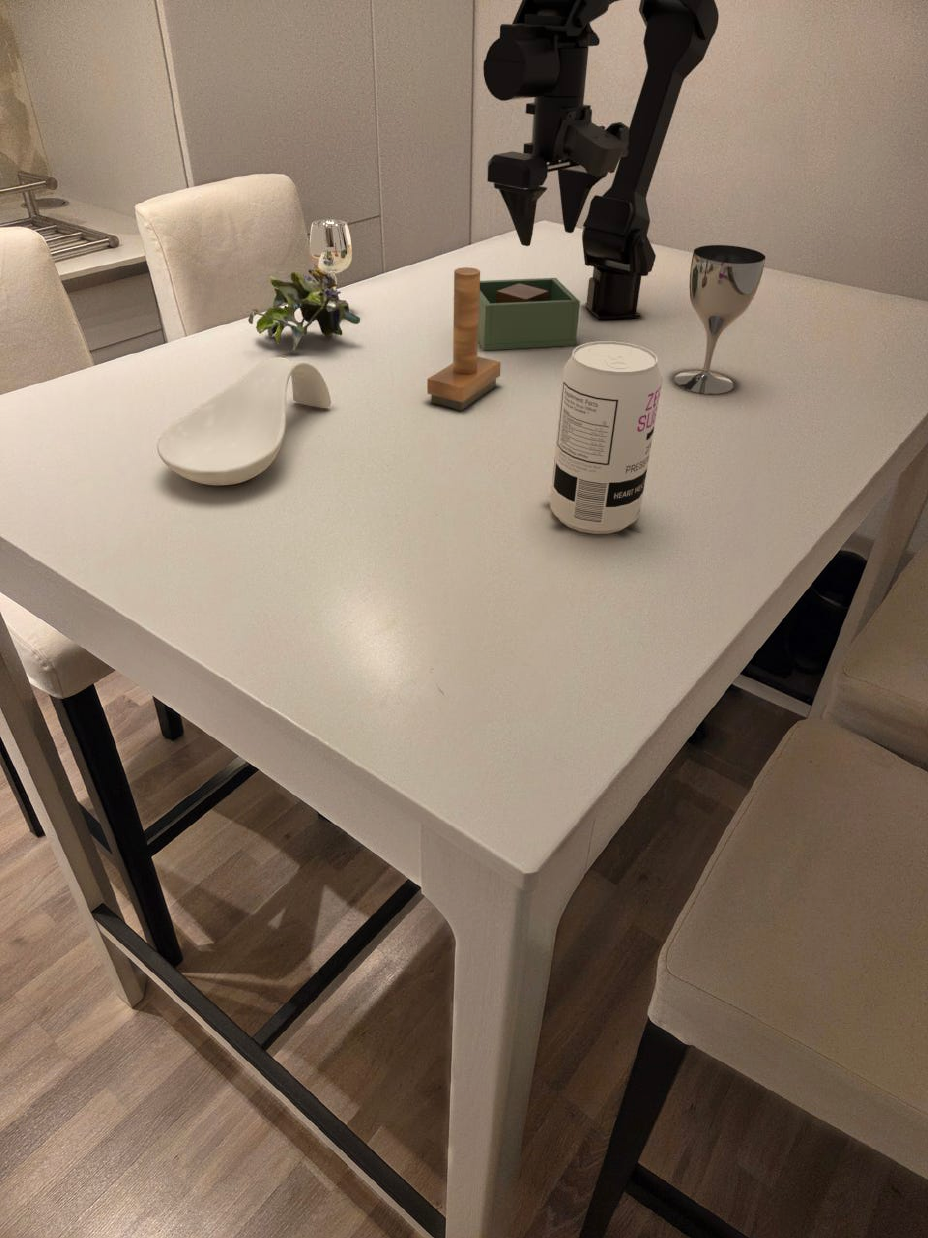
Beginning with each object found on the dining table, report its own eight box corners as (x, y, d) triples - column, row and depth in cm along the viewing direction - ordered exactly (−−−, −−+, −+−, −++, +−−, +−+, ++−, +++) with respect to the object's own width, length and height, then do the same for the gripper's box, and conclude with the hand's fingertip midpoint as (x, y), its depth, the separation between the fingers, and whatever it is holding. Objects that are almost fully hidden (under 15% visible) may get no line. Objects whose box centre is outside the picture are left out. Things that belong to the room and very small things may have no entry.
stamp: (499, 385, 104) (505, 264, 95) (461, 412, 97) (464, 284, 89) (466, 377, 105) (469, 257, 97) (427, 403, 99) (426, 277, 90)
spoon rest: (247, 512, 79) (236, 440, 74) (138, 488, 82) (122, 418, 77) (358, 412, 97) (355, 349, 92) (266, 396, 100) (258, 334, 95)
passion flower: (329, 375, 119) (377, 307, 112) (289, 390, 109) (340, 316, 103) (268, 318, 118) (314, 245, 112) (224, 327, 109) (271, 249, 103)
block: (517, 319, 120) (519, 282, 117) (545, 328, 118) (549, 290, 115) (494, 328, 117) (496, 290, 114) (523, 337, 115) (526, 299, 112)
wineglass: (359, 308, 125) (354, 219, 118) (351, 321, 121) (346, 229, 113) (320, 306, 125) (313, 217, 118) (310, 319, 121) (303, 227, 114)
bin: (552, 319, 123) (556, 277, 120) (575, 345, 115) (580, 301, 112) (466, 323, 121) (467, 280, 118) (483, 350, 113) (485, 305, 109)
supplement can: (542, 493, 83) (556, 338, 74) (626, 491, 83) (651, 338, 74) (557, 538, 76) (574, 375, 67) (648, 536, 77) (677, 374, 68)
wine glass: (739, 375, 108) (767, 249, 99) (733, 399, 102) (763, 267, 93) (675, 366, 110) (697, 241, 101) (666, 389, 104) (689, 258, 95)
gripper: (569, 108, 89) (556, 266, 98) (662, 95, 100) (642, 237, 110) (486, 97, 95) (481, 247, 104) (583, 85, 106) (570, 222, 116)
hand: (547, 238), depth 108 cm, fingers open, 9 cm apart
